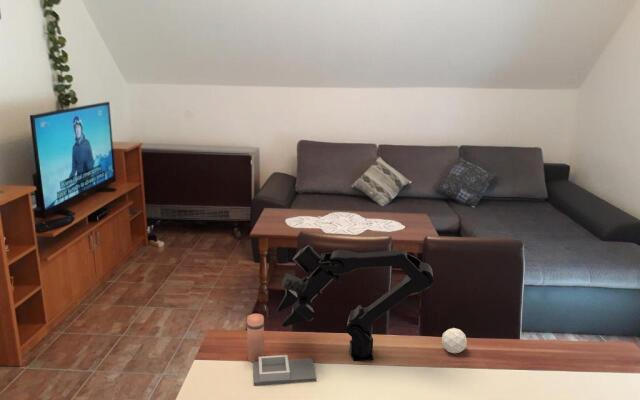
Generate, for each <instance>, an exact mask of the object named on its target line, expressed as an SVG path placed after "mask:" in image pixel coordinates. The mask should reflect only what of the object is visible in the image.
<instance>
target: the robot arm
mask: <svg viewBox="0 0 640 400" xmlns="http://www.w3.org/2000/svg"><path fill="white" fill-rule="evenodd" d="M292 261H294V262H295V263H296V264H297V265H298V266H299V267H300V268H301V269H302V270H303V271H304V272H305V273H307V274H309V273H311V274H310V275H309V276H307V275H305V276H303V277H302V278H300V277H298V276H296V275H293V274H290V273H285V275H284V277H283V279H282V281H281V285H282V287H283V288H284V289H285V294H284V296H283V298H282V300H281V302H280V303H279V306H278V307H277V309H276V311H277V312H279V313H280V312H282V311H284V310H286V309H288V308H289V307H291V308H292V309H291V311H290V313H289V314H288V316H287V317H286V318H285V319H284V320H283V321H282V323H281V326H282V327H283V328H285V327H289V326H292V325H293V324H297V323H302V322H305V321H306V322H311V321H312V320H314V319H315V316H316V315H315V311H314V309H313V307H312V306H311V305H313V300H314V299H315V298H316V297H317V296H319V297H320V296H322V295H323V292H322V291H323V290H324V289H325V288H326V287H327V286H328V285H329V284H330V283H331V282H332V281H333V280H334V281H335V283H337V284H340V275H344V274H349V273H351V272H354V271H355V270H360V269H372V268H385V267H386V268H387V267H398V268H399V269H401V270H402V271H403V272H404V273H405V274H406V275H405V276H404V278H403V280H402V281H400V282H399V283H398V284H396V285H395V286H394V287H392V288H391V289H389V291H387V292H386V293H384V294H383V295H381V296H380V297H379V298H378V299H376V300H374V302H372V303H371V304H370V305H368V306H366V307H363V306H362V305H361V304H359V305H358V306H357V307H356V308H355V309H352V310H350V314H349V315H348V319H347V322H346V323H347V325H346V333H347V334H348V335H349V336H350V337H351V339H350V340H349V345H348V346H349V347H348V349H349V354H350V356H351V358H352V360H353V362H356V361H357V362H359V361H360V362H361V361H373V360H374V359H375V358H374V355H373V353H374V352H373V348H374V338H373V325H374V323H375V321H376V320H377V319H379V318H381V316H383V315H384V314H386V313H387V312H388V311H390V310H391V309H392V308H394V307H395V306H397V305H398V304H399V303H401V302H402V301H404V299H406V298H408V297H409V296H411V295H412V294H417V293H421V292H422V291H425V290H427V289H429V288H431V287H432V286H433V284H434V273H433V269H432V266H431V265H430V264H429V263H426V262H423V261H421V260H420V259H418V258H417V257H416V256H413V255H411V254H409V253H408V251H406V250H405V249H399V248H398V249H396V250H395V249H394V250H385V251H384V250H382V251H371V252H370V251H368V252H355V251H353V250H352V251H351V250H346V249H337V250H334V251H333V252H325V253H321V254H319V253H318V252H317V251H316V250H315V249H314V248H313V246H311V244H308V245H306V246H304V247H303V248H301V249H299V251H298V252H297V253H296V254H295V255H294V256H293V258H292Z"/></svg>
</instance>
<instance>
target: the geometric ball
mask: <svg viewBox="0 0 640 400" xmlns="http://www.w3.org/2000/svg"><path fill="white" fill-rule="evenodd" d="M441 337H442V338H441V343H442V347H443V348H444V350H446V352H449V353H451V354H458V353H461V352H462V351H464V350H465V349H466V347H467V343H468V341H467V336H466V334H465V333H464V332H463V331H462V330H461V329H459V328H455V327H452V328H448V329H447V330H446V331H444V332H443V333H442V336H441Z"/></svg>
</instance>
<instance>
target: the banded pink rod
mask: <svg viewBox="0 0 640 400" xmlns="http://www.w3.org/2000/svg"><path fill="white" fill-rule="evenodd" d="M246 320H247V321H246V327H247V328H246V329H247V330H246V331H247V359H248V360H247V361H249V362H250V363H253V362H259V357H263V356H265V316H264V315H263V314H261V313H251V314H250V315H247V317H246Z"/></svg>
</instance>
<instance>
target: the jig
mask: <svg viewBox="0 0 640 400" xmlns="http://www.w3.org/2000/svg"><path fill="white" fill-rule="evenodd" d="M288 357H289V356H288V354H282V355H280V354H279V355H266V356H265V355H264V356H263V357H259V362H252V365H253V366H252V370H253V371H252V373H253V374H252V376H253V379H252V380H253V386H255V387H256V386H266V385H283V384H294V383H295V384H296V383H297V384H298V383H308V382H309V383H313V382H317V376H316V375H317V374H316V371H315V366H314V361H313V358H312V357H309V358H295V359H294V358H293V359H289V358H288Z"/></svg>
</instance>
